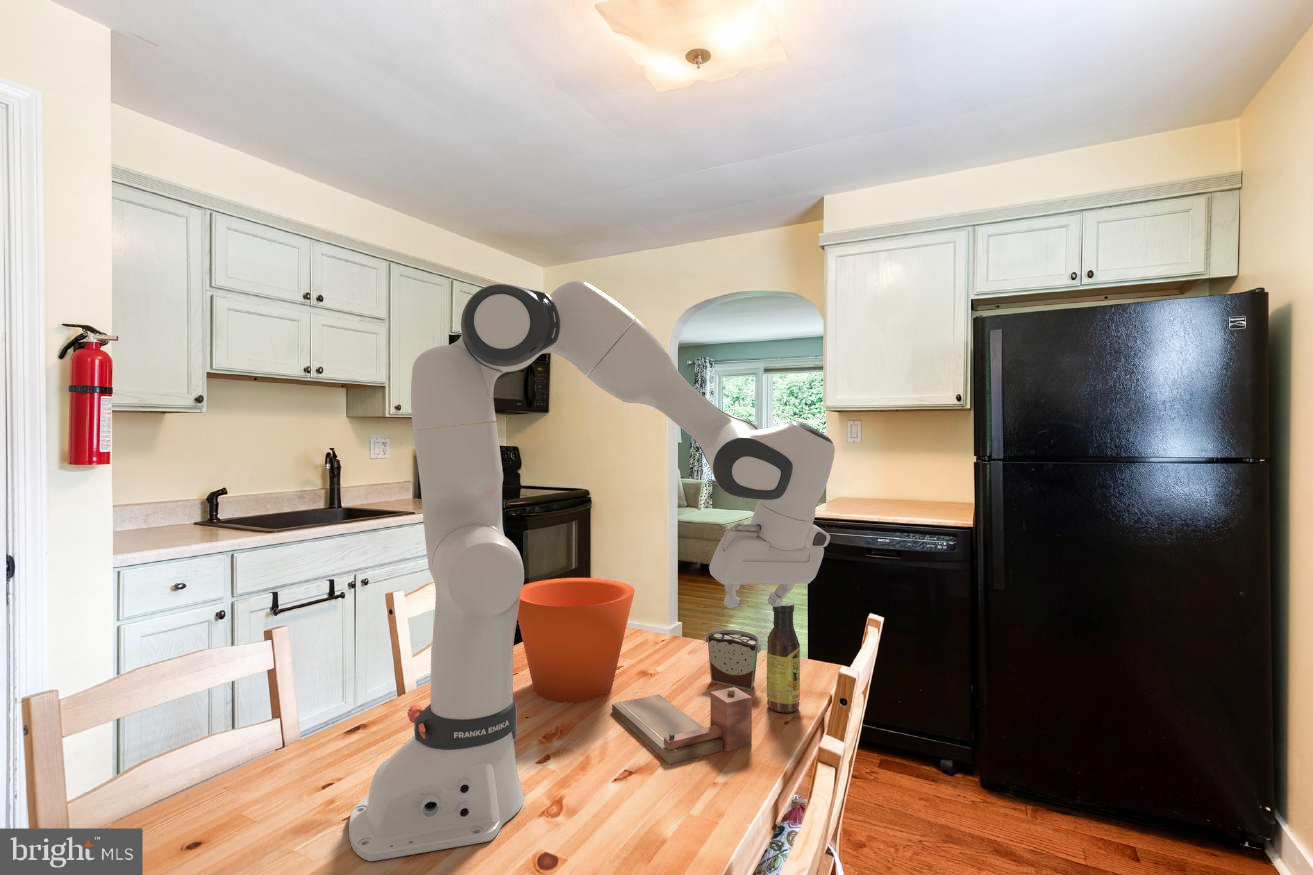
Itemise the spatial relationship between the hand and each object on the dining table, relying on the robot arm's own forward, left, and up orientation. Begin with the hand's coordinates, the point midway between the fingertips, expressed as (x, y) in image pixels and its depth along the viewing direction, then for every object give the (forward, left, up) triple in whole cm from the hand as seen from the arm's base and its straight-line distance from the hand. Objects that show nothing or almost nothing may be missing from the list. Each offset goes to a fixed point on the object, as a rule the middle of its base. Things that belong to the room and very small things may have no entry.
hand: (752, 605), depth 102 cm
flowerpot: (-14, +42, -25) cm, 51 cm away
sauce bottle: (+18, +14, -25) cm, 34 cm away
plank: (-7, +16, -25) cm, 31 cm away
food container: (+18, +29, -25) cm, 43 cm away
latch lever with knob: (-4, +7, -25) cm, 26 cm away
